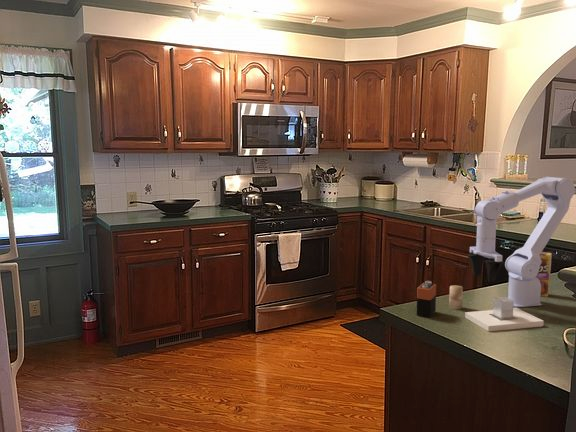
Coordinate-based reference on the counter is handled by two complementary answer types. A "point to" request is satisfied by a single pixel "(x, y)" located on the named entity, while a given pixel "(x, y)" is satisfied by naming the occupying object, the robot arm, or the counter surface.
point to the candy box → (544, 272)
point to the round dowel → (455, 297)
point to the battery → (426, 299)
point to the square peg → (503, 308)
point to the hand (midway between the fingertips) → (484, 278)
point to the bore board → (494, 324)
